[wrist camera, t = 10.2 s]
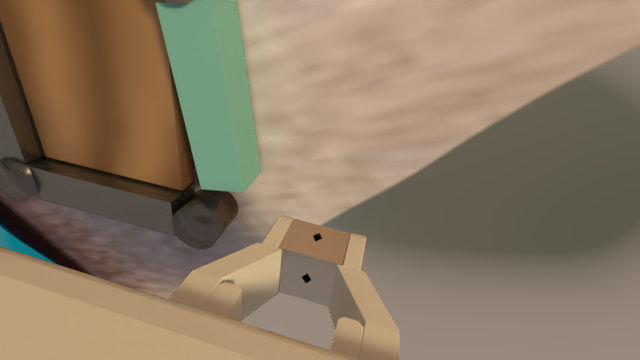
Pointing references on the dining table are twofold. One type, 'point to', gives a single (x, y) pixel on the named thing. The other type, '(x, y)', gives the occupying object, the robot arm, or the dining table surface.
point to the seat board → (101, 86)
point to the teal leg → (213, 89)
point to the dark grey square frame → (97, 178)
